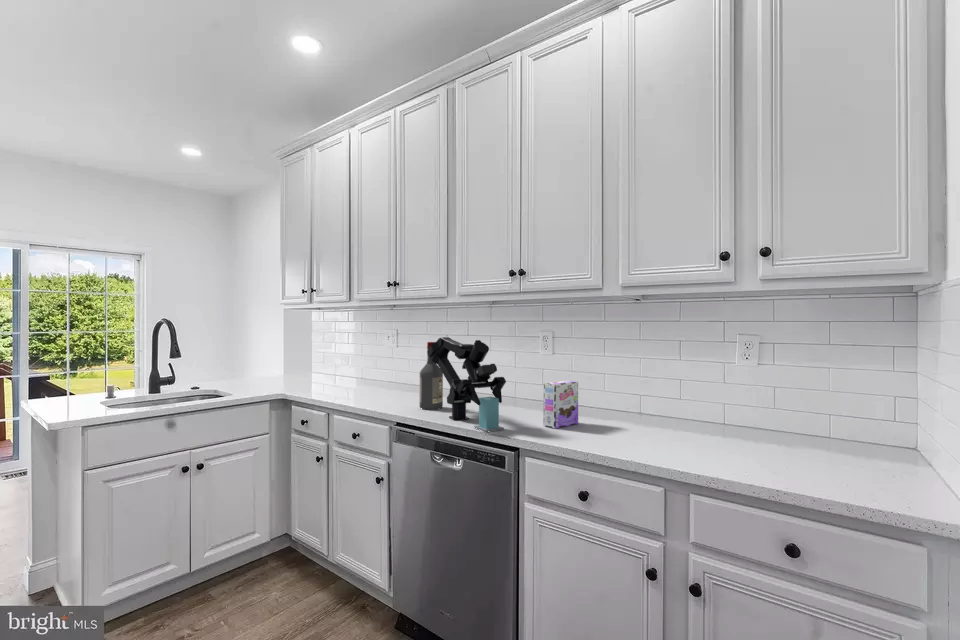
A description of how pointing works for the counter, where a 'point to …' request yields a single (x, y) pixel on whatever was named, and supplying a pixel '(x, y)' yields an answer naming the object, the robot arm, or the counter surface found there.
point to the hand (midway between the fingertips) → (490, 403)
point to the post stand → (489, 429)
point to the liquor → (431, 385)
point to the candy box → (560, 404)
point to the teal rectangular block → (489, 412)
